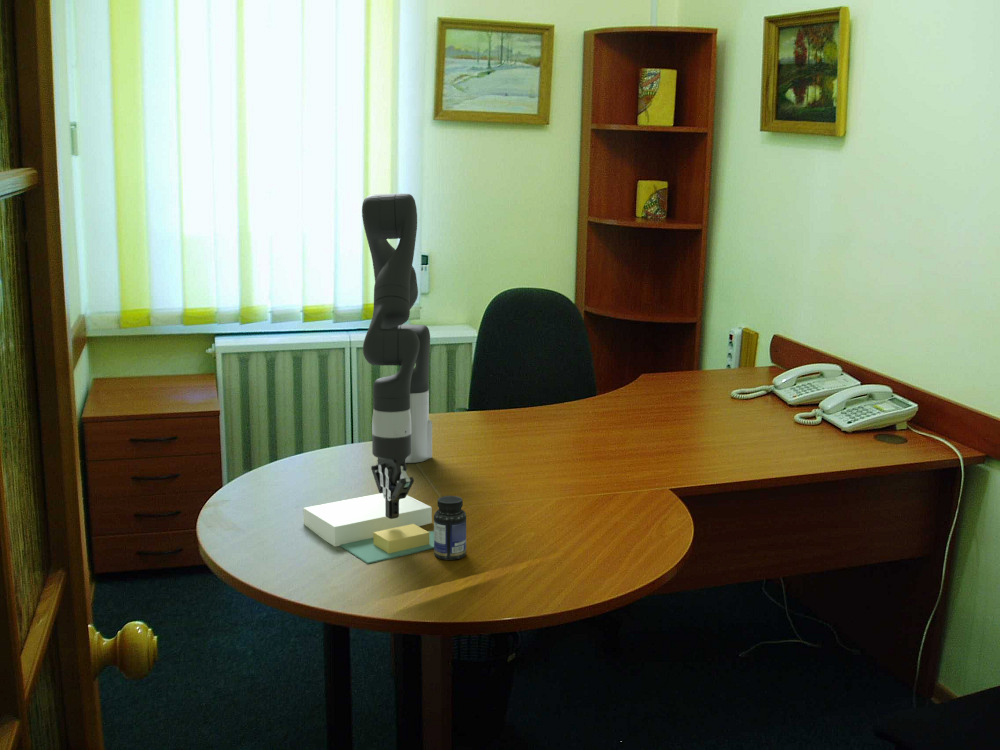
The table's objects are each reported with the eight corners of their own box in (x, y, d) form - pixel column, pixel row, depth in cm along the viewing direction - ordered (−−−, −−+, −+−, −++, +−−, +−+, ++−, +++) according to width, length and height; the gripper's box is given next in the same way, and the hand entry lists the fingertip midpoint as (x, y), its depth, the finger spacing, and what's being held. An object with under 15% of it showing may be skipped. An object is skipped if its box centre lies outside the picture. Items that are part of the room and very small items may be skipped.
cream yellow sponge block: (429, 532, 185) (429, 544, 185) (413, 523, 190) (413, 535, 190) (388, 541, 180) (388, 553, 180) (373, 532, 185) (373, 544, 185)
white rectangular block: (397, 507, 208) (397, 490, 207) (431, 525, 197) (431, 507, 196) (303, 526, 195) (303, 507, 194) (334, 546, 184) (334, 526, 183)
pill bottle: (466, 549, 184) (466, 494, 182) (466, 561, 178) (466, 504, 176) (434, 549, 184) (434, 494, 182) (433, 561, 178) (433, 504, 176)
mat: (428, 527, 196) (428, 525, 196) (458, 542, 187) (458, 541, 187) (340, 546, 184) (340, 544, 184) (367, 563, 176) (367, 562, 176)
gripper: (426, 435, 181) (426, 523, 184) (391, 422, 192) (391, 505, 195) (392, 441, 177) (392, 530, 180) (358, 427, 187) (359, 511, 190)
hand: (392, 517), depth 187 cm, fingers closed
